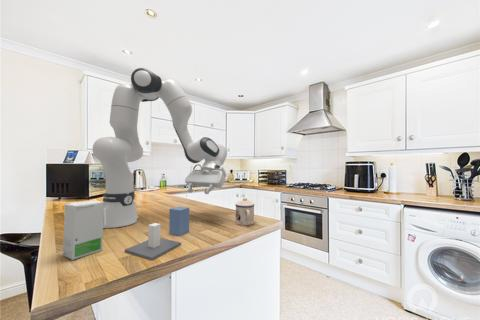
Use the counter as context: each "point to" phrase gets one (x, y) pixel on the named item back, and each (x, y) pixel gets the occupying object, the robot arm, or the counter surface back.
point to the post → (153, 244)
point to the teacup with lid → (244, 212)
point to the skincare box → (83, 229)
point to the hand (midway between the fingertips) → (197, 192)
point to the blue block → (179, 220)
